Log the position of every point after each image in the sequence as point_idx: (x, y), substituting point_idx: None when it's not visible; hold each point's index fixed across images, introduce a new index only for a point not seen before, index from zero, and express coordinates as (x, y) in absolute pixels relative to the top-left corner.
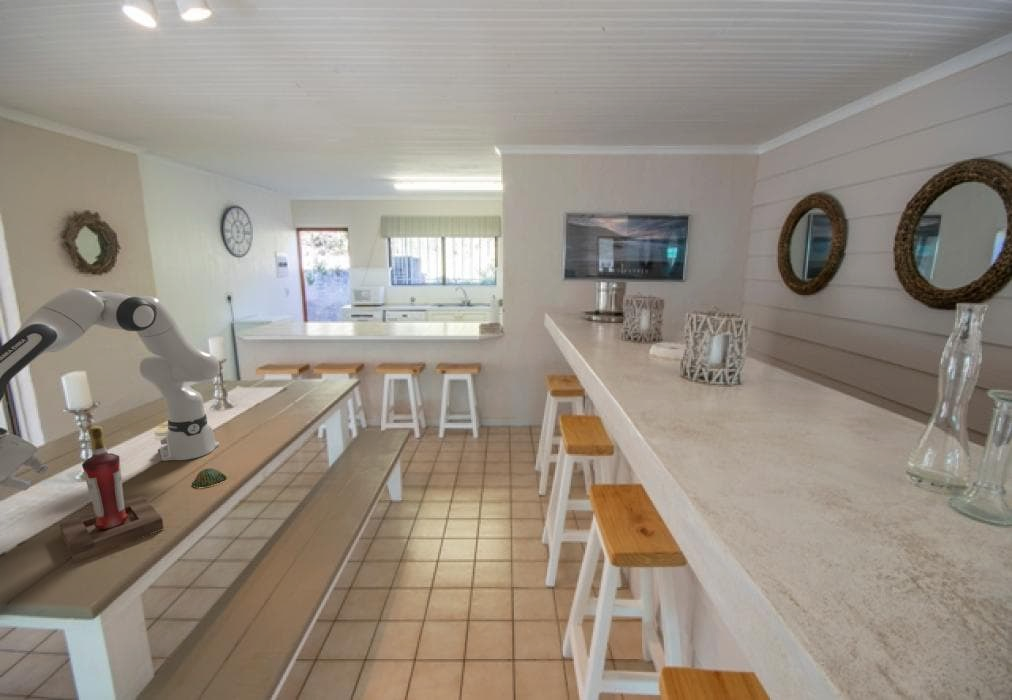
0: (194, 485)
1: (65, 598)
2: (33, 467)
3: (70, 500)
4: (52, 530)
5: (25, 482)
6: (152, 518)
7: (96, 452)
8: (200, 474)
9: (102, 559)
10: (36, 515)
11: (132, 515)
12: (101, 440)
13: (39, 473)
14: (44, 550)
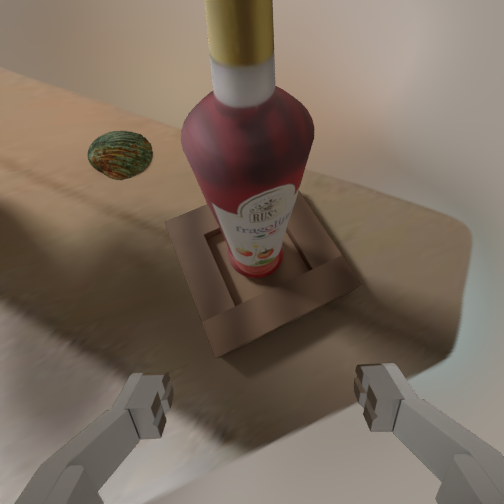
0: (131, 172)
1: (458, 268)
2: (120, 459)
3: (30, 405)
4: (189, 386)
5: (408, 385)
6: None
7: (273, 74)
8: (112, 152)
9: (352, 250)
10: None
11: None
12: None
13: (169, 407)
14: (279, 367)
